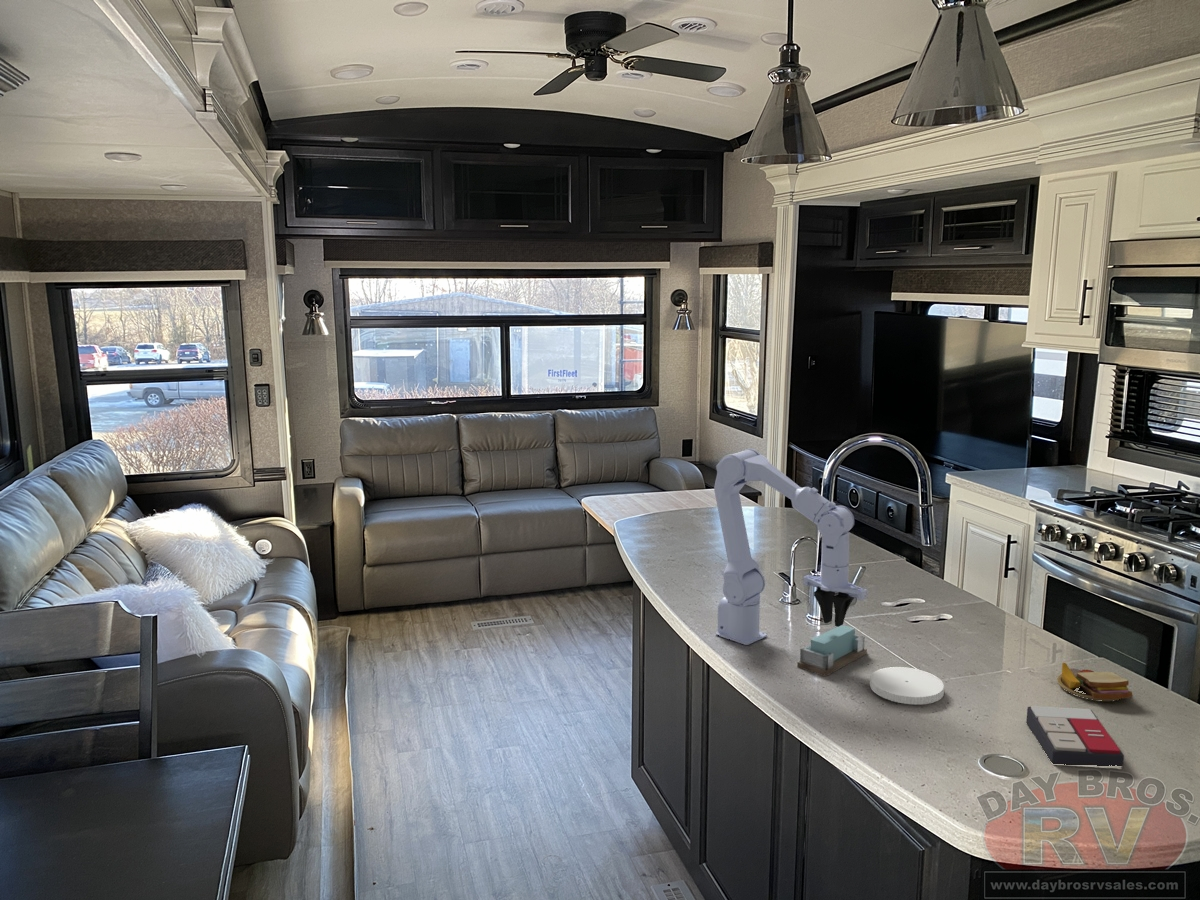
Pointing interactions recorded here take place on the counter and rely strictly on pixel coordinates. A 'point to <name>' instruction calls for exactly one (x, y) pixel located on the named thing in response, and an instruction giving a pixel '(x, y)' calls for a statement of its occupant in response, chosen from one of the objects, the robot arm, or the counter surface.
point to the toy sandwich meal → (1094, 684)
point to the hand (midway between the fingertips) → (833, 623)
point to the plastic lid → (907, 685)
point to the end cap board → (834, 663)
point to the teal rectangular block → (835, 641)
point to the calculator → (1073, 736)
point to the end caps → (826, 660)
